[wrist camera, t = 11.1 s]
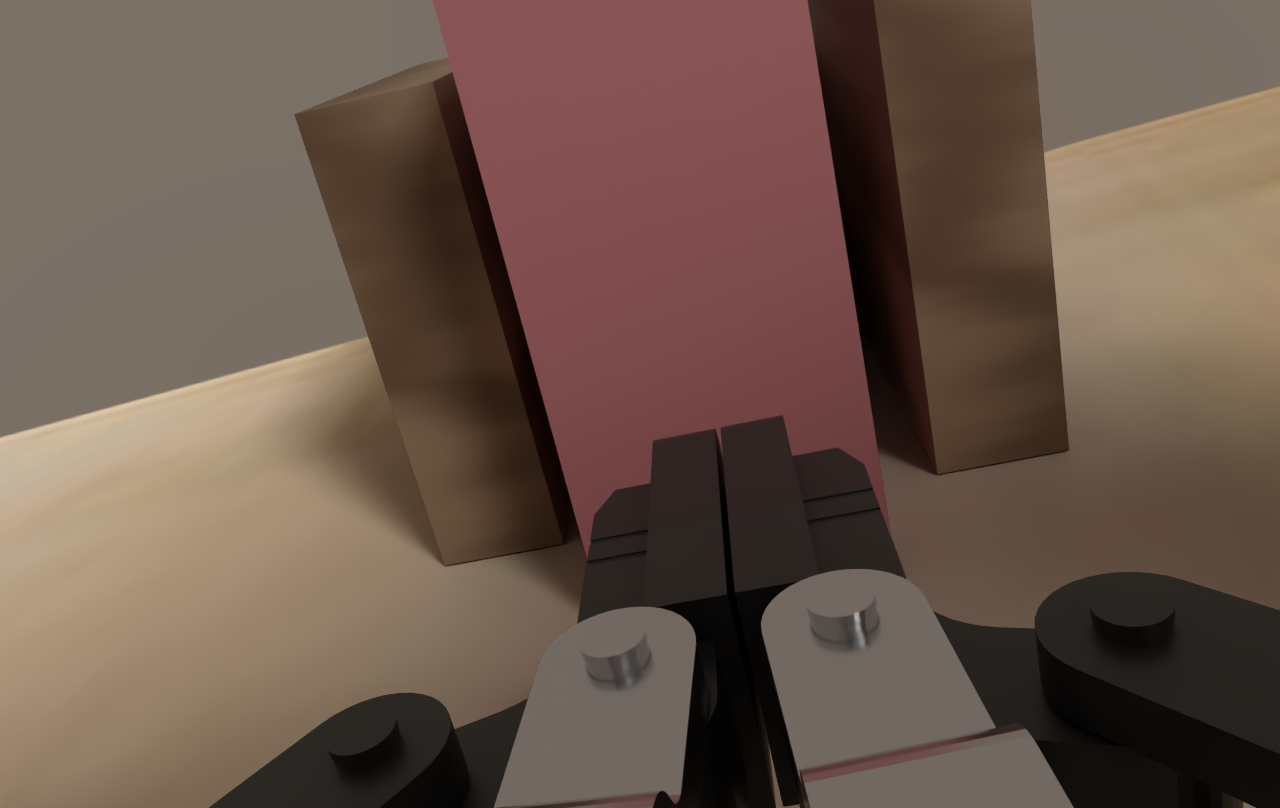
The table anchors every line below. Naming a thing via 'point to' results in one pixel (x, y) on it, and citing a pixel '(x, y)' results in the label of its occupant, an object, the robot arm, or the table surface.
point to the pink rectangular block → (665, 224)
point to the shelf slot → (874, 236)
